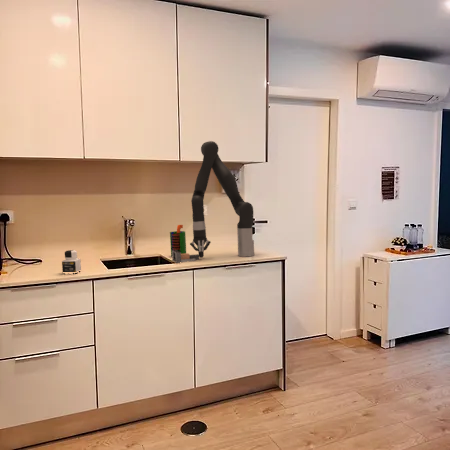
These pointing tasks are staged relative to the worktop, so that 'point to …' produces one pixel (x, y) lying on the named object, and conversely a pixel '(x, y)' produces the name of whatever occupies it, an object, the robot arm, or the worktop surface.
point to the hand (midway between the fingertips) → (201, 257)
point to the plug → (189, 256)
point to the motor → (178, 240)
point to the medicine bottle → (71, 262)
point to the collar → (179, 257)
